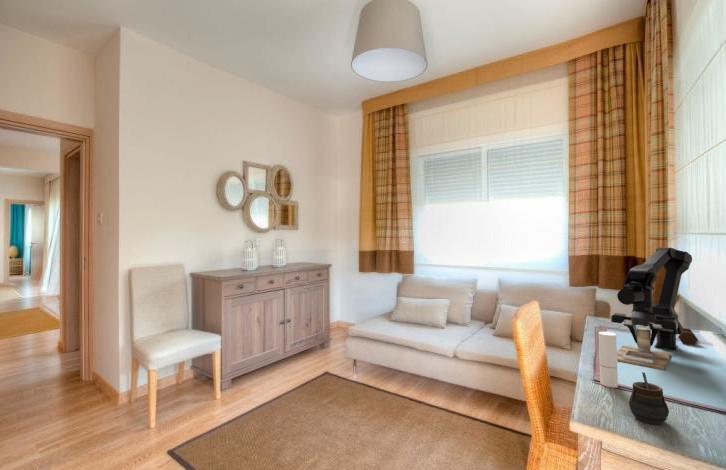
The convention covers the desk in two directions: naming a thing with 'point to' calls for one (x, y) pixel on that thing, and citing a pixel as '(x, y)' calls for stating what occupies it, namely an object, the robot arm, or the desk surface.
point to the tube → (608, 359)
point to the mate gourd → (648, 402)
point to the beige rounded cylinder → (643, 340)
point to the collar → (625, 355)
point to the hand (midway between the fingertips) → (643, 344)
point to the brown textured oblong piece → (687, 337)
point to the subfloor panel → (658, 363)
